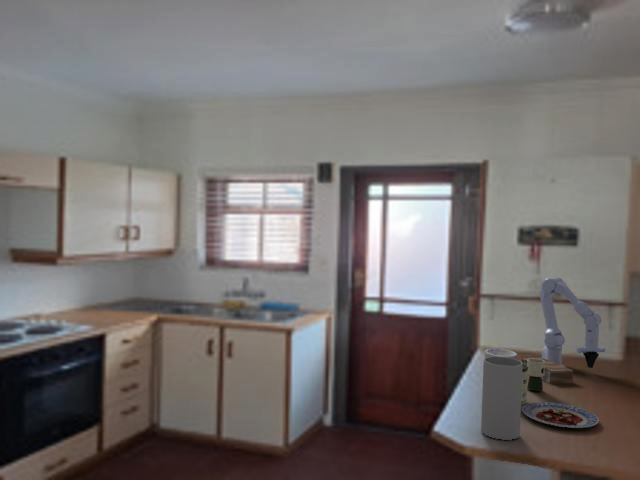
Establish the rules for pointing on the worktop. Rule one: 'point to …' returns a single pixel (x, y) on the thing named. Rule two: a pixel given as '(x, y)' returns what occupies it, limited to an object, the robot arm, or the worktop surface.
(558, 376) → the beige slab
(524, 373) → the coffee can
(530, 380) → the character mug
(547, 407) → the ceramic plate
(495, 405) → the cylinder vase
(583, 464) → the worktop surface
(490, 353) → the paper bowls
